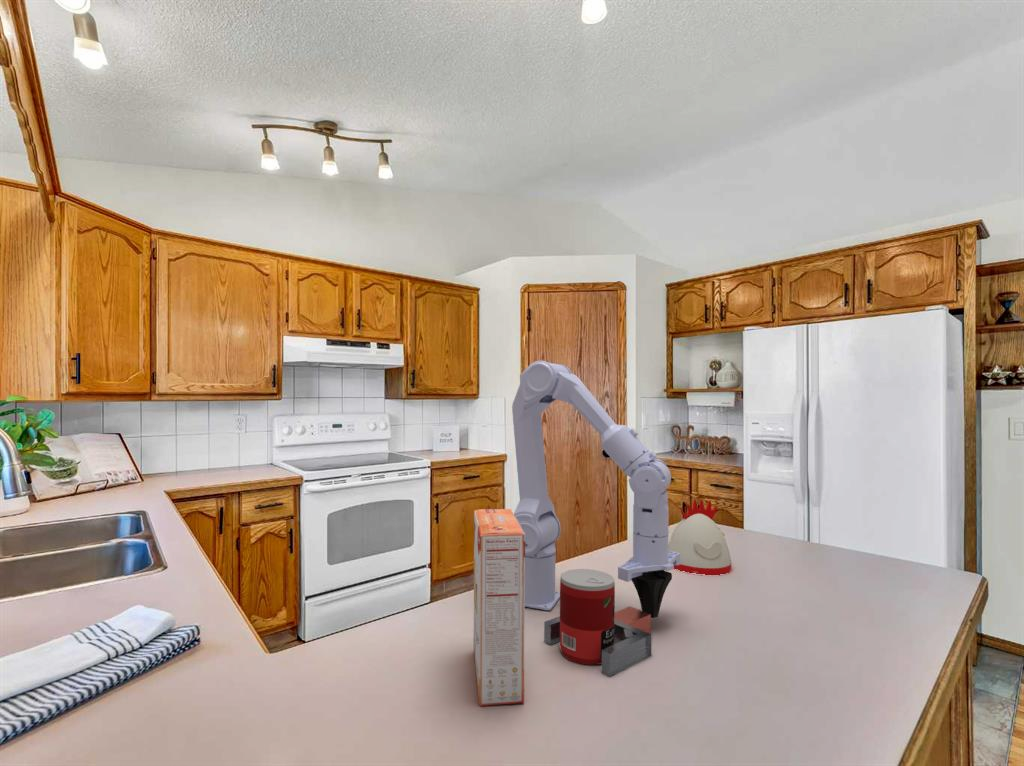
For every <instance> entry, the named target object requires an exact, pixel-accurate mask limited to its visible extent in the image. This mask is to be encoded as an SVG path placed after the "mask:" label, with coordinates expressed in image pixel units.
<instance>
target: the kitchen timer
mask: <svg viewBox="0 0 1024 766" xmlns="http://www.w3.org/2000/svg"><path fill="white" fill-rule="evenodd" d="M686 508H687V514H686V513H685V512H684V509H682V508H680V513H681V515H682V517H683V518H682V519H681V520H680V521H679V522H678V524H677V525H676V526H675V528H674V529H673V531H672V533H671V536H670V540H669V541H668V551H673V552H676V553H680V565H674V569H673V570H675V569H678V570H680V571H679V572H681V571H685V572H689V573H696V574H705V575H719V576H721V575H720V574H725V575H727V574H726V573H728V572H730V571H732V558H731V553H730V550H729V546H728V544H727V541H726V538H725V534H724V533H723V531H722V530H721V528H720V527H719V526H718V525H717V523H716V522H715V521H714V520H713V518H714V516H715V514H716V513H717V509H718V506H717V505H714V507H713V508H712V500H708V501H707V503H706V507H705V504H704V501H703V499H700V500H699V507H698V501H697V500H696V499H695V498H694V499H693V502H692V507H691V506H690V504H688V503H686ZM678 570H677V571H678ZM685 572H684V573H685ZM689 573H688V574H689ZM730 573H731V572H730ZM728 574H729V573H728Z"/></svg>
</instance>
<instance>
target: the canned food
mask: <svg viewBox="0 0 1024 766" xmlns="http://www.w3.org/2000/svg"><path fill="white" fill-rule="evenodd" d="M615 583H616V582H615V578H614V577H613V575H611V574H609V573H608V572H607V573H606V572H604V571H601V570H597V569H596V570H595V569H589V568H575V569H569V570H566V571H564V572H562V573H561V574H560V580H559V593H560V598H559V616H560V641H559V647H560V650H561V653H562V656H564V657H565V658H566V659H568V660H569V661H571V662H574V663H577V664H581V665H587V664H588V665H589V666H590V665H592V666H594V665H595V664H597V665H602V650H603V649H605V648H607V647H610V646H612V645H614V616H615V612H616V611H615V607H616V606H615V603H616V600H615V597H616V589H615V586H616V585H615ZM595 666H596V665H595Z"/></svg>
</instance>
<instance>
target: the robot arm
mask: <svg viewBox="0 0 1024 766" xmlns="http://www.w3.org/2000/svg"><path fill="white" fill-rule="evenodd" d="M519 381H520V382H519V386H518V388H517V390H516V393H515V397H514V399H513V401H512V406H511V408H512V409H511V410H512V413H511V414H512V422H513V434H514V436H513V437H514V445H515V447H514V449H515V456H516V457H515V458H516V472H517V482H518V494H519V496H518V497H519V501H518V504H517V505H516V508H515V510H514V512H513V514H514V516H515V518H516V519H517V521H518V523H519V525H520V526H521V528H522V530H523V532H524V533H525V608H532V609H537V610H545V611H551V610H552V609H553V608H554V607H555V605H556V603H557V602H558V601H560V591H559V592H557V591H556V556H557V555H556V553H557V552H556V544H555V543H556V542H557V541H558V539H559V538H560V536H561V531H562V528H561V523H560V520H559V518H558V516H557V515H556V512H555V505H554V503H553V502H552V500H551V499H550V497H549V488H548V480H547V468H546V459H545V458H546V457H545V456H546V455H545V446H544V436H543V435H544V434H543V425H542V424H543V422H542V414H543V413H544V412H545V410H546V409H548V407H549V406H551V404H552V403H553V402H555V401H556V400H558V401H560V402H565V403H567V404H570V405H571V406H573V408H574V409H575V410H576V411H577V412H579V414H580V415H581V416H582V417H583V418H584V419H585V421H587V422H588V424H590V425H591V427H592V428H594V430H595V431H596V432H597V433H598V435H600V436H601V437H600V438H601V441H600V442H601V445H600V446H601V448H602V449H603V450H604V452H605V453H606V454H607V455H608V456H609V457H610V458H611V460H612V461H613V462H614V463H615V464H616V466H617V467H618V468H619V469H620V470H621V471H622V473H623V474H624V475H625V476H627V477H629V478H628V484H629V487H630V489H631V491H632V492H633V504H632V506H633V507H632V508H633V510H632V512H633V513H632V514H633V515H632V516H633V517H632V530H633V531H632V557H631V558H630V559H628V560H627V561H626V562H625V563H623V564H622V565H619V566H618V567H617V579H619V580H621V581H624V582H627V583H629V582H631V581H632V583H633V586H634V588H635V590H636V593H637V596H638V599H639V603H640V607H641V611H643V612H646V613H648V614H651V619H654V618H658V616H659V613H660V610H661V606H662V601H663V597H664V595H665V592H666V589H667V587H669V584H670V583H671V581H672V580H673V573H672V572H670V571H672V570H675V569H674V565H680V553H676V552H673V551H668V545H669V509H670V508H669V504H668V501H669V496H668V494H669V493H668V491H667V489H668V488H669V486H670V484H671V482H672V474H671V471H670V468H669V467H668V466H667V463H666V462H665V461H663V460H661V459H659V458H657V457H658V455H657V454H656V453H655V452H654V451H650V450H649V449H648V447H646V445H644V443H643V442H642V441H641V440H640V439H639V438H638V435H639V432H638V431H637V429H635V427H633V428H629V427H628V425H627V424H626V425H625V424H617V423H616V422H615V421H614V420H613V419H612V418H611V416H610V414H608V412H607V411H606V410H605V408H603V407H602V405H601V404H600V403H599V401H598V400H597V399H596V397H595V396H594V395H593V394H592V393H591V392H590V390H589V389H588V388H587V386H586V385H585V384H584V383H583V382H582V380H581V379H580V378H579V377H578V376H577V375H576V374H574V373H572V370H571V369H570V367H568V366H566V365H564V364H561V363H552V362H547V361H545V360H536V361H534V362H532V363H530V364H529V365H528V366H527V367H526V368H525V369H524V370H523V371H522V372H521V373H520V374H519Z"/></svg>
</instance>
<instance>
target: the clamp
mask: <svg viewBox="0 0 1024 766" xmlns="http://www.w3.org/2000/svg"><path fill="white" fill-rule="evenodd" d="M651 620H652V618H651V614H648V613H646V612H643V611H642V609H641V610H640V609H637V608H635V607H633V606H628V607H625V608H623V609H620V610H618V611H615V616H614V645H612V646H610V647H607V648H605V649H603V650H602V664H601V673H602V674H603V675H606V676H608V677H612V676H614V675H617V674H618V673H620V672H622V671H624V670H626V669H627V668H628V669H629V667H632V666H633V665H635V664H638V663H639V662H641V661H643V660H645V659H648V658H649V657H652V643H653V641H652V637H653V635H652V634H651V632H652V631H651V627H652V626H651V623H652V622H651ZM543 625H544V626H543V628H544V631H543V642H544V643H545V644H548V645H550V646H553V645H555V644H557V643H560V615H559V616H556V617H554V618H550V619H548V620H545V621H544V623H543Z"/></svg>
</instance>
